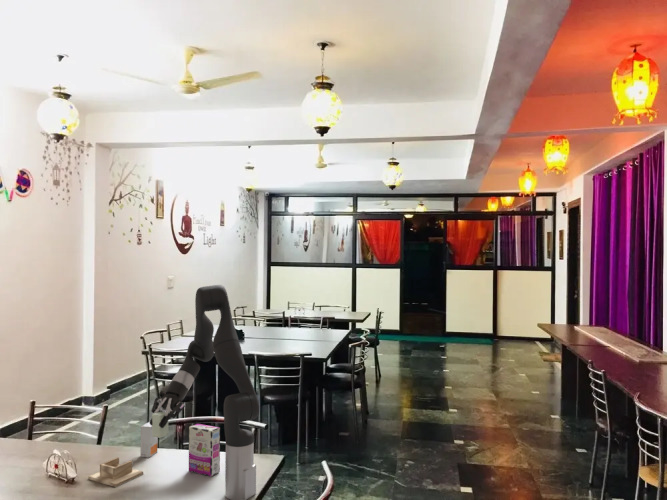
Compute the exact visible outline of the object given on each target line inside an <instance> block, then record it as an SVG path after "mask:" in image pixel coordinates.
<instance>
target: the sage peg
mask: <svg viewBox="0 0 667 500" xmlns="http://www.w3.org/2000/svg"><path fill="white" fill-rule="evenodd" d="M165 413H166V411H165V412H161V411H159V412H157V413H152V415H151V419H152V436H154V437H158V438H159V439H161V438H163V437H166V436H168V435H169V421H168V422H167V424H166V425H165V426H164V428H161V427H160V426H159V423H160V422H161V420H162V418H163V417H164V416H165Z"/></svg>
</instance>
